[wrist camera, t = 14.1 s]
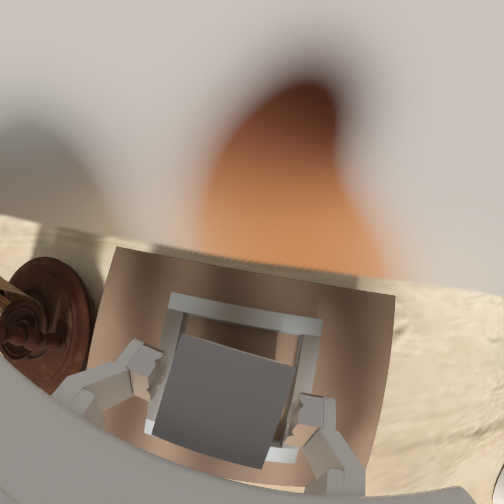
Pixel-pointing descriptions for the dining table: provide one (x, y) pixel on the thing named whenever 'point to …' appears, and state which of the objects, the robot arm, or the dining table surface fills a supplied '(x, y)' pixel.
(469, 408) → the dining table surface
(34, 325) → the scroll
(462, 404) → the dining table surface
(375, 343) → the block
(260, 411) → the grey white rectangular block
